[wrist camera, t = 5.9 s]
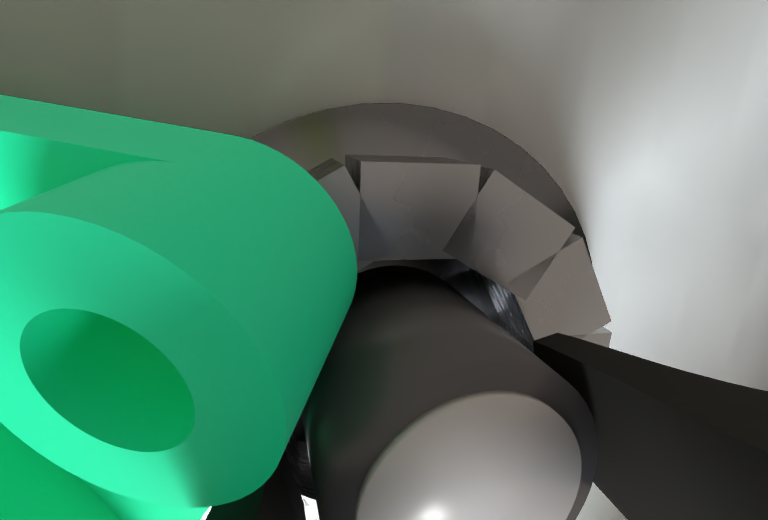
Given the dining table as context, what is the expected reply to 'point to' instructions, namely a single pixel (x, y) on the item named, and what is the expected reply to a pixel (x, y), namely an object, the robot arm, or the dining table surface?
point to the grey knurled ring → (449, 220)
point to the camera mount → (155, 312)
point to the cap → (441, 414)
